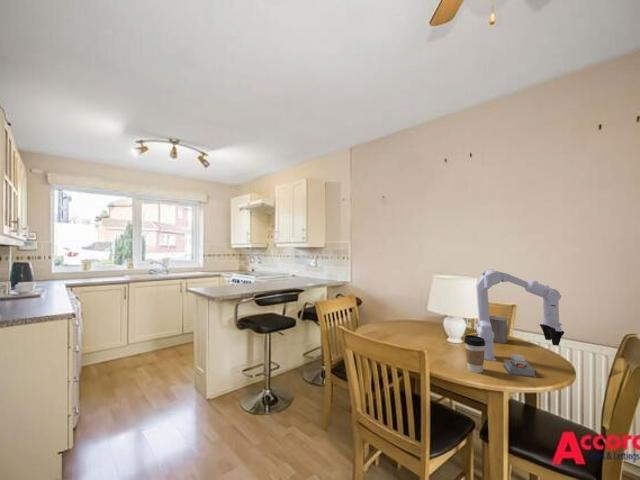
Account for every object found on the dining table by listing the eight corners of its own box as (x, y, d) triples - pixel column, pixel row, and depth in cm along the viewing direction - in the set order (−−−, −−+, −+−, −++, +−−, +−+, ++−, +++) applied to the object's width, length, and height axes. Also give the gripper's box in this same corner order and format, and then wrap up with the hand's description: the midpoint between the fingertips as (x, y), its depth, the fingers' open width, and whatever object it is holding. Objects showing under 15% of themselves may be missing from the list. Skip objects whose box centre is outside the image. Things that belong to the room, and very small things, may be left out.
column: (514, 372, 125) (514, 357, 126) (511, 368, 129) (511, 353, 130) (526, 373, 124) (525, 358, 124) (522, 369, 128) (522, 354, 128)
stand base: (509, 375, 124) (509, 365, 124) (502, 366, 133) (502, 357, 133) (536, 378, 121) (536, 368, 121) (527, 368, 130) (527, 359, 130)
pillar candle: (484, 339, 170) (484, 314, 170) (495, 337, 174) (494, 312, 174) (500, 344, 161) (500, 318, 161) (511, 342, 166) (511, 316, 166)
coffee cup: (467, 365, 134) (466, 333, 135) (487, 370, 129) (486, 336, 129) (462, 371, 128) (461, 337, 128) (484, 376, 123) (483, 341, 123)
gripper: (569, 317, 127) (570, 348, 127) (553, 310, 141) (554, 338, 140) (550, 316, 129) (551, 347, 129) (537, 309, 143) (537, 337, 143)
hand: (551, 342), depth 135 cm, fingers open, 7 cm apart
